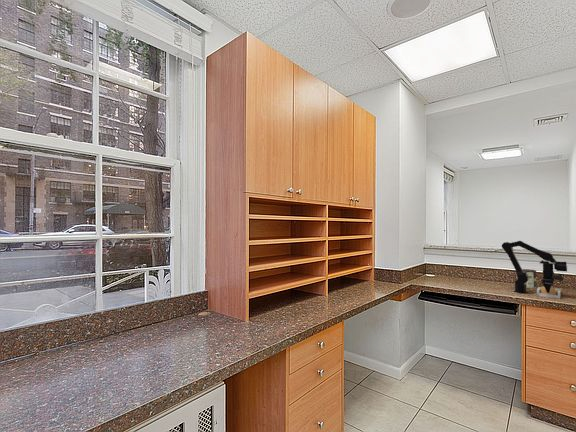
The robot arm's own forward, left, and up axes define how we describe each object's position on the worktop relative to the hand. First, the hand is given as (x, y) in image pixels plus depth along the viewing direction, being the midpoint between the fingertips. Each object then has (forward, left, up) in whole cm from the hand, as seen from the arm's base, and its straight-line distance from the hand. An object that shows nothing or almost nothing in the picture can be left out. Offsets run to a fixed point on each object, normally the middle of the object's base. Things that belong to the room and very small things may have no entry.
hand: (548, 291), depth 220 cm
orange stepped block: (0, 0, -3) cm, 3 cm away
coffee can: (+16, +31, -3) cm, 35 cm away
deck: (+7, +5, -3) cm, 9 cm away
